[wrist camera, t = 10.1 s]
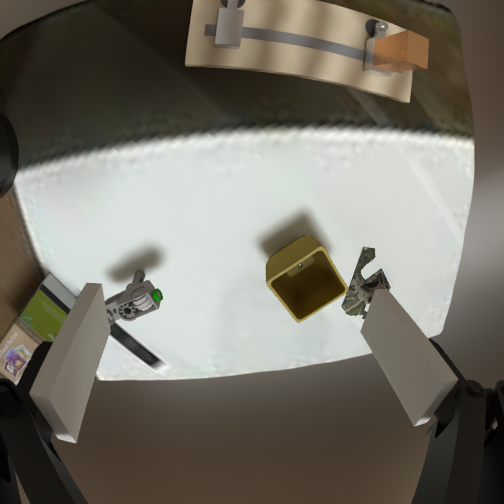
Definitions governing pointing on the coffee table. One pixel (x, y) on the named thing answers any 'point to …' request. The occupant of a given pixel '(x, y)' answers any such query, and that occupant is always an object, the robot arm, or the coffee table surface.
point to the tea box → (34, 326)
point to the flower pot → (304, 278)
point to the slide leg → (395, 52)
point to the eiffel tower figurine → (363, 286)
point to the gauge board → (291, 42)
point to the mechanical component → (133, 300)
